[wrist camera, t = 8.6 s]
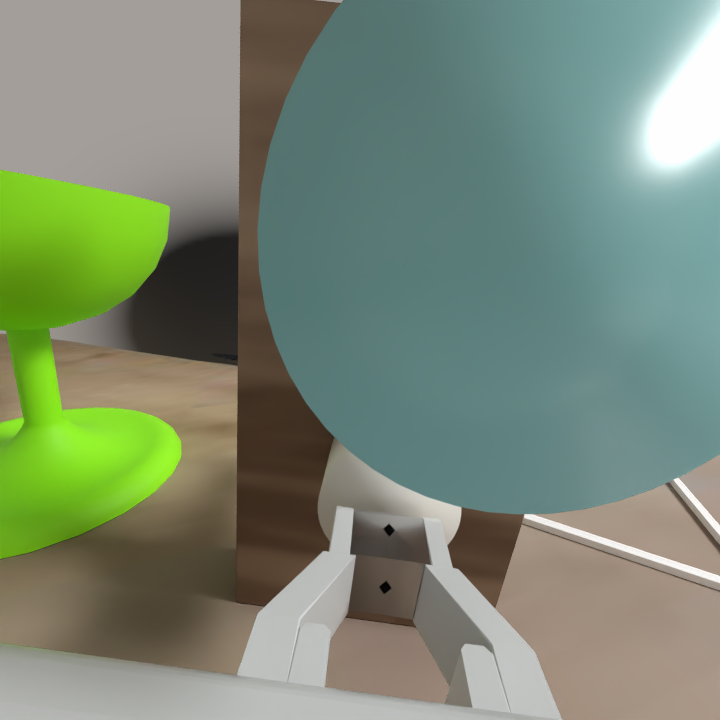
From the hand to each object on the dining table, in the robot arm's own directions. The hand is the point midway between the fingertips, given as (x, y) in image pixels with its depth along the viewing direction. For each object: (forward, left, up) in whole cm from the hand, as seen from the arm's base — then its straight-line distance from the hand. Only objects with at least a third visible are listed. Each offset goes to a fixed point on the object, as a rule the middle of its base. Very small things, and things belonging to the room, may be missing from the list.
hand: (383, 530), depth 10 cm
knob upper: (0, +1, +5) cm, 5 cm away
